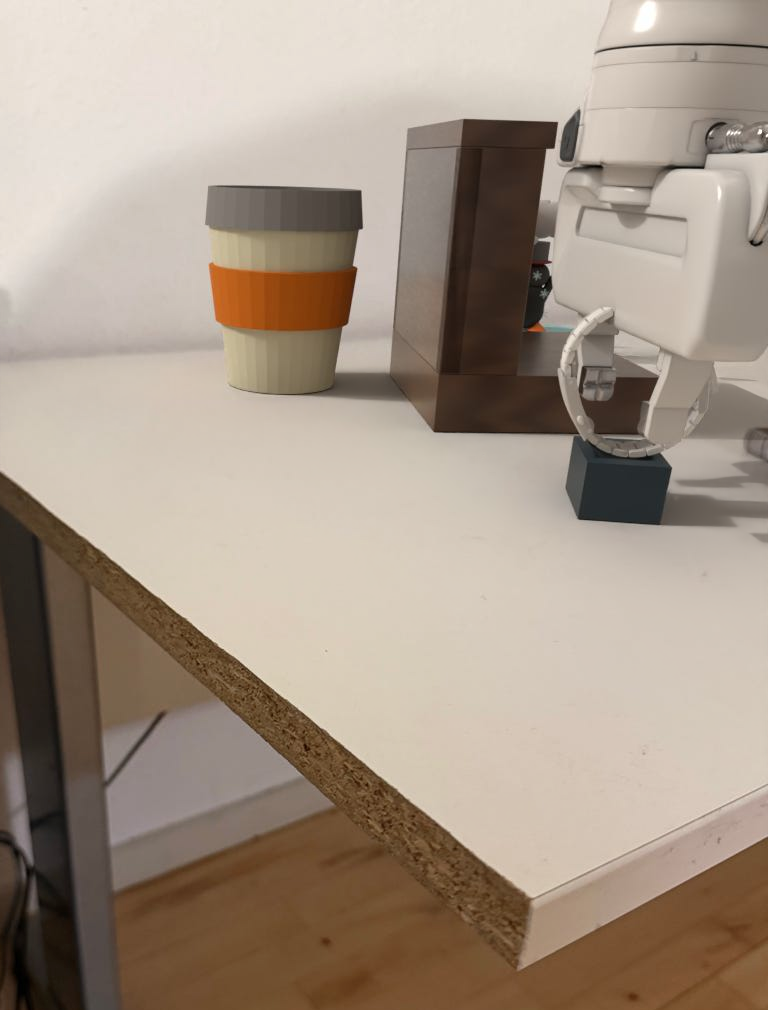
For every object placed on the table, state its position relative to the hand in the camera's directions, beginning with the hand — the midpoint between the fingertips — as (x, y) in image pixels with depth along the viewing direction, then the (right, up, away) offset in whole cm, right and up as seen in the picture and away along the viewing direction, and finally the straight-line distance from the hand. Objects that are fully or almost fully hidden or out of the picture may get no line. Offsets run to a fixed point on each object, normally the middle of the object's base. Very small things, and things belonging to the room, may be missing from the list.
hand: (622, 417), depth 51 cm
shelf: (0, +7, +25) cm, 26 cm away
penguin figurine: (+3, +18, +46) cm, 50 cm away
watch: (0, -5, +2) cm, 5 cm away
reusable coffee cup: (-19, +10, +30) cm, 36 cm away
